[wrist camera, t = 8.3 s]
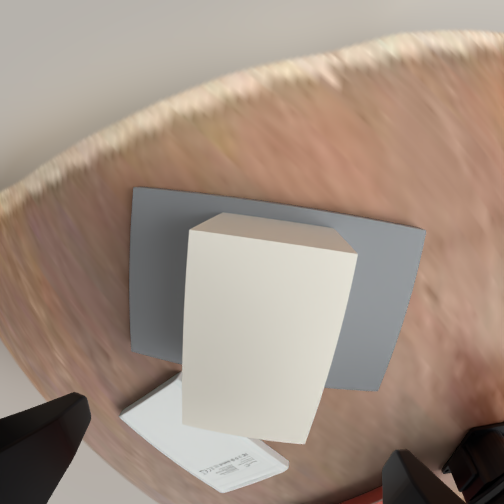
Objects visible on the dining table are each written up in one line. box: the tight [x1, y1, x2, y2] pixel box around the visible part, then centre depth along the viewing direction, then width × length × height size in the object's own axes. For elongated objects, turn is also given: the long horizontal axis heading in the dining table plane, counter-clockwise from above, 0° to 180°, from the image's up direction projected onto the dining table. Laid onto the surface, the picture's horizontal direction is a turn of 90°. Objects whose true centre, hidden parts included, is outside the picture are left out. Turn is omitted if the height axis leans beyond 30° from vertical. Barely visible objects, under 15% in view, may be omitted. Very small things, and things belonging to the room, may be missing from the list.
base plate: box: [129, 187, 426, 391], centre depth 17 cm, size 17×11×4 cm, turn 83°
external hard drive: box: [119, 371, 289, 493], centre depth 22 cm, size 2×8×12 cm
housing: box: [182, 212, 358, 444], centre depth 15 cm, size 10×6×6 cm, turn 173°
